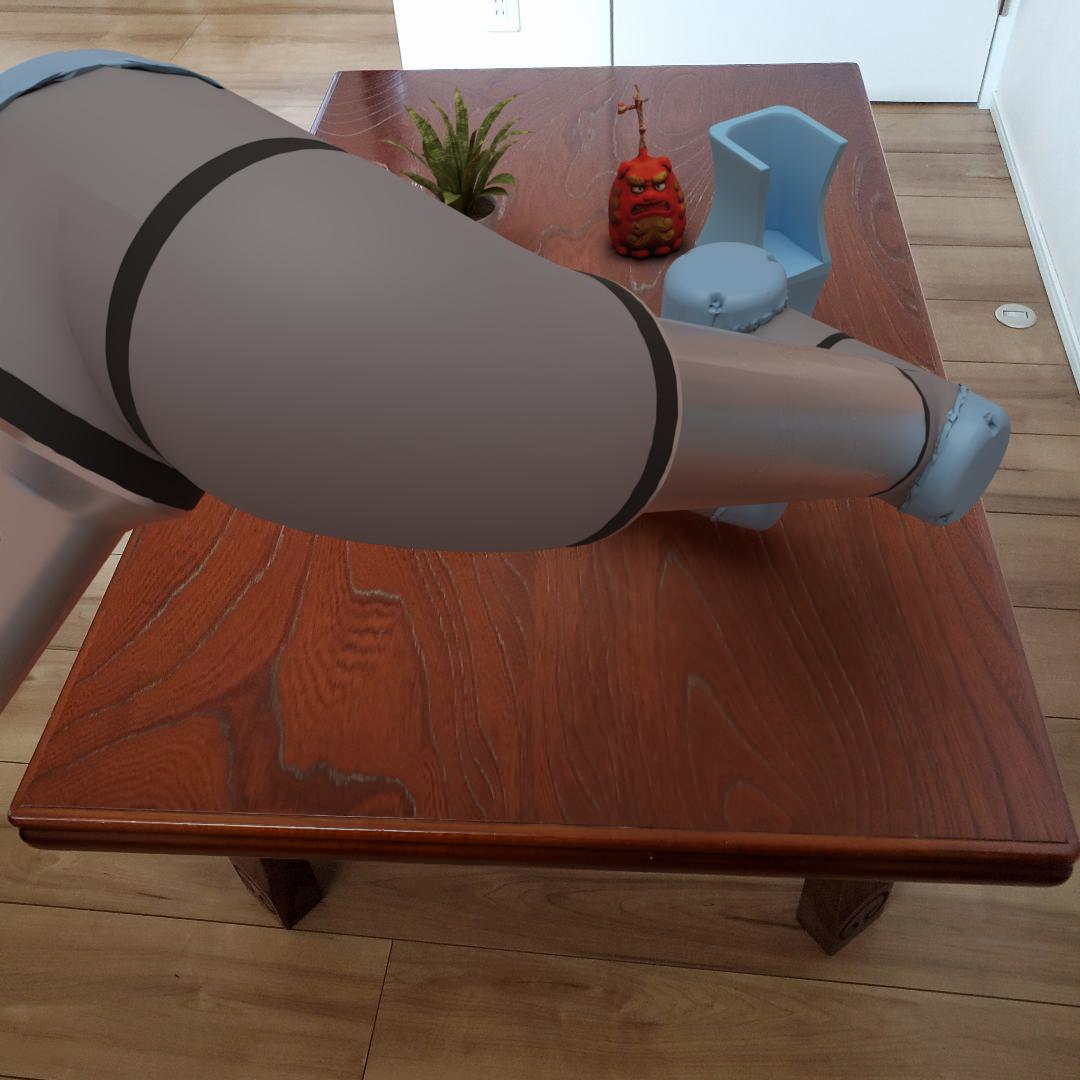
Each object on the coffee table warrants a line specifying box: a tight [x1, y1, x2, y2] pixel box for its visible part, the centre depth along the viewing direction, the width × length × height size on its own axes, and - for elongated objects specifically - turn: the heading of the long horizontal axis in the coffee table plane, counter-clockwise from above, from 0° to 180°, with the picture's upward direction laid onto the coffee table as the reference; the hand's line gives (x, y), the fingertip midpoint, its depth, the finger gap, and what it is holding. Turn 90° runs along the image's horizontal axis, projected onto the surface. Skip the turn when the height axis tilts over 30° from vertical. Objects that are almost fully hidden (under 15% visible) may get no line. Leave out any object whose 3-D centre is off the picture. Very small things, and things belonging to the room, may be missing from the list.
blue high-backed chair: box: [694, 105, 849, 318], centre depth 91 cm, size 8×8×20 cm
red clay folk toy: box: [607, 83, 687, 259], centre depth 106 cm, size 8×7×15 cm
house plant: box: [378, 86, 536, 233], centre depth 105 cm, size 14×14×16 cm
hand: (335, 344), depth 90 cm, fingers closed on plant pot, 8 cm apart
